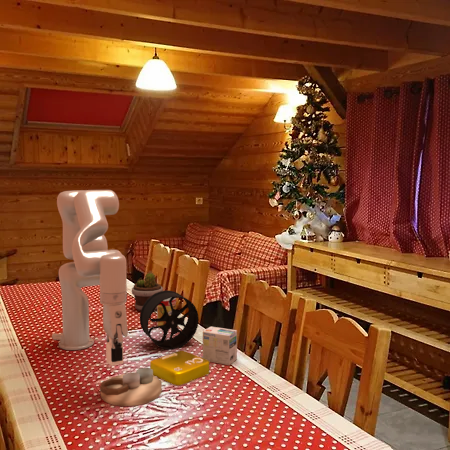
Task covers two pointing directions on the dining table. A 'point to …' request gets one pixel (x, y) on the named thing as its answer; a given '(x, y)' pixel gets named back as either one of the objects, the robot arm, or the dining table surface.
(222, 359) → the light bulb box
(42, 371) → the dining table surface
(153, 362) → the element tile
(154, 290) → the flowerpot
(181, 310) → the car wheel rim
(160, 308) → the canned food
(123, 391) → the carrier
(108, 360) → the salt shaker
